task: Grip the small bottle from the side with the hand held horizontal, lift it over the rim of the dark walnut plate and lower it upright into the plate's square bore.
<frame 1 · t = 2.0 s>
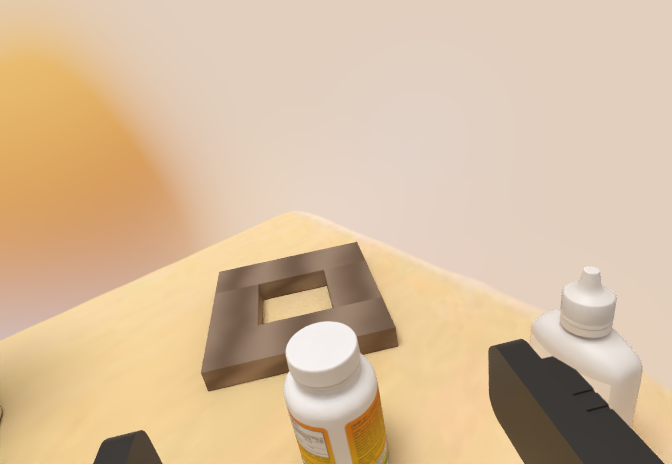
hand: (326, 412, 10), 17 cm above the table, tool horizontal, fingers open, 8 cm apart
supplement bottle: (347, 461, 27), on the table
eye dropper bottle: (571, 434, 27), on the table
socket plate: (297, 311, 42), on the table
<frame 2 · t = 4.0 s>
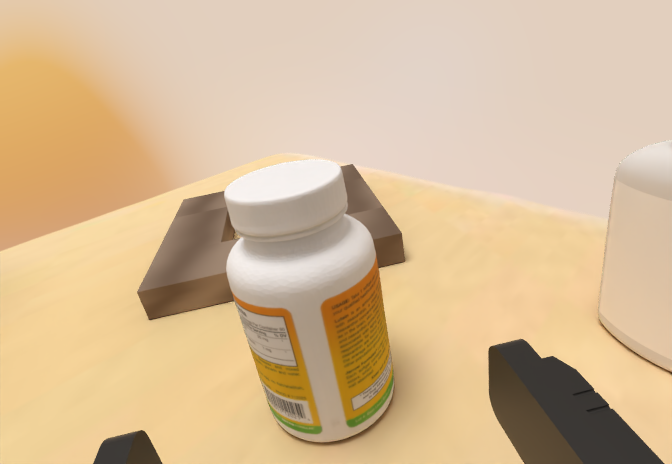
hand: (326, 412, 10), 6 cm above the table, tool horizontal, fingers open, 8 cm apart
supplement bottle: (333, 394, 18), on the table
socket plate: (276, 236, 33), on the table
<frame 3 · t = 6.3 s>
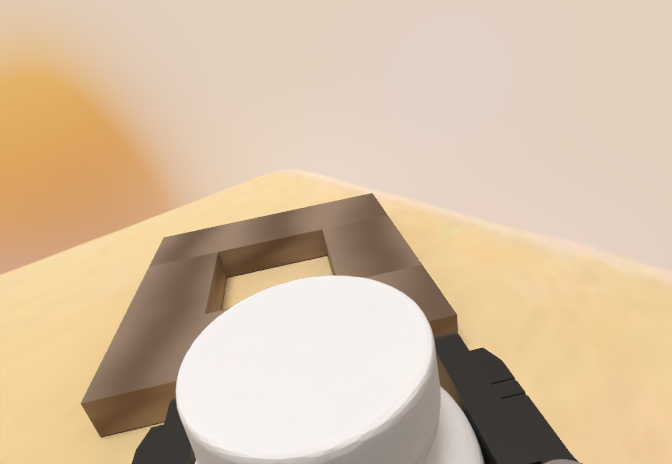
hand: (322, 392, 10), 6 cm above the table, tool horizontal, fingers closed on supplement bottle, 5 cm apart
socket plate: (279, 293, 26), on the table
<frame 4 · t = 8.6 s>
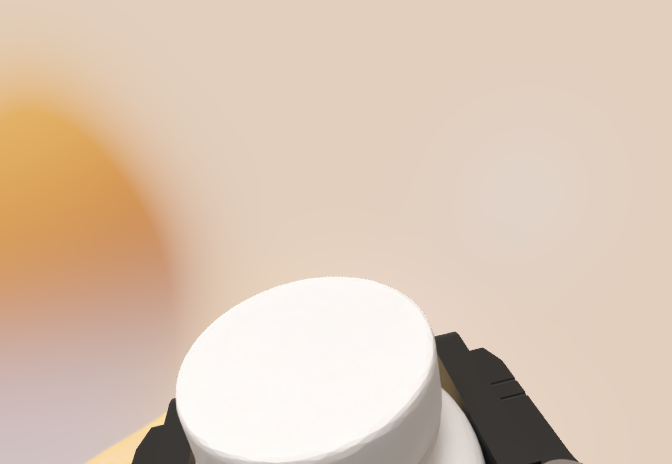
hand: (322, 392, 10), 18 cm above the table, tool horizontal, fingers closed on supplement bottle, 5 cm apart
when the fingers open (8 cm above the table, at t = 11.3 s): supplement bottle drops 2 cm, resting in socket plate.
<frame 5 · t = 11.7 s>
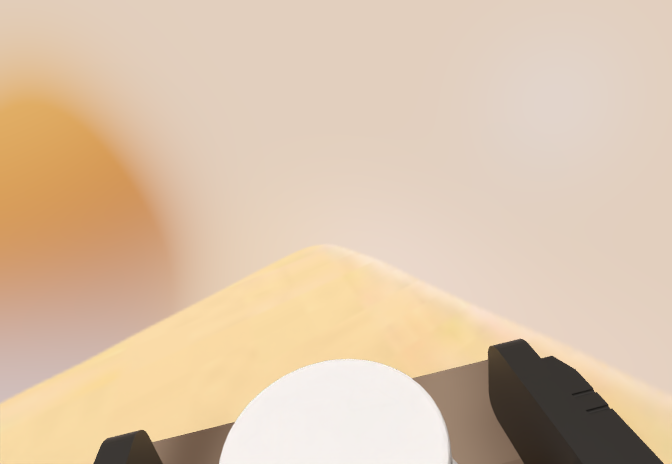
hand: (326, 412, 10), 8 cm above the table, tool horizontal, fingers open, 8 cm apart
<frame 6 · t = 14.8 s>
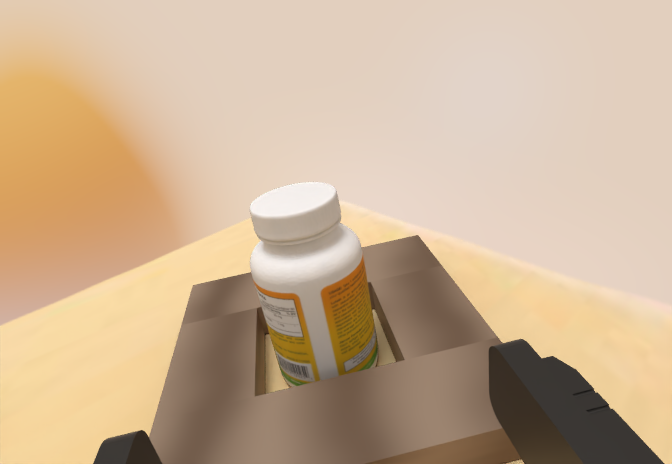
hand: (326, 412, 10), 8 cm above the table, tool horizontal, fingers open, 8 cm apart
supplement bottle: (330, 363, 23), resting in socket plate
socket plate: (327, 359, 23), on the table
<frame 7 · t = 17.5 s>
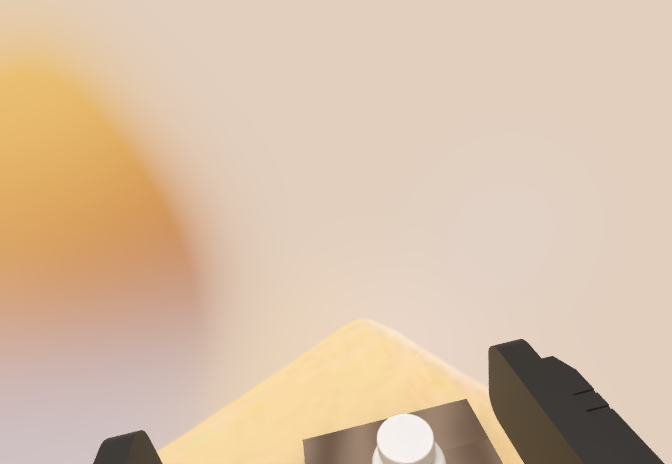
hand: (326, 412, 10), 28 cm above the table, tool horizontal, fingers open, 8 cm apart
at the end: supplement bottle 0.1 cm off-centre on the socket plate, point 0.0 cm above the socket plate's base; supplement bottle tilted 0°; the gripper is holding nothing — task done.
